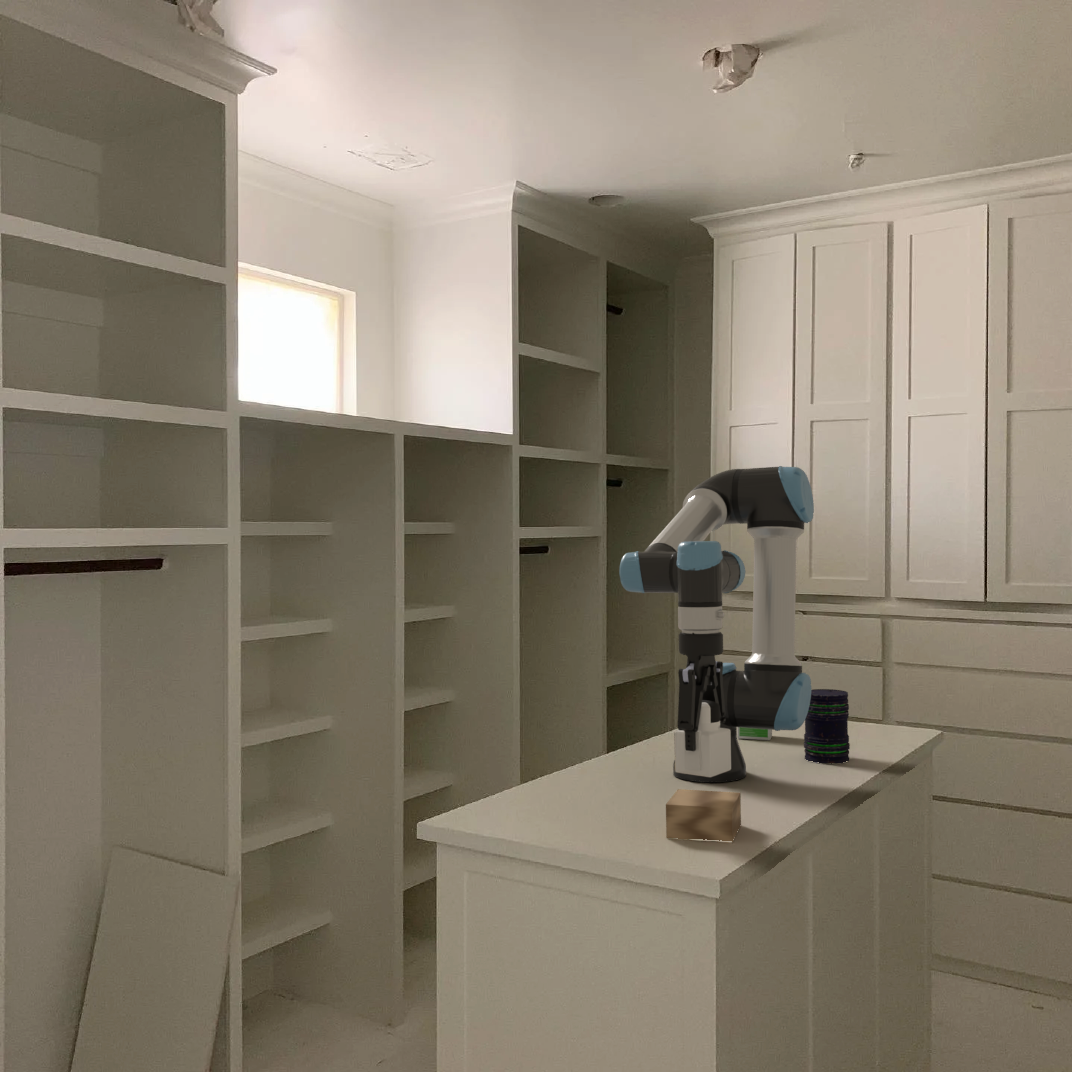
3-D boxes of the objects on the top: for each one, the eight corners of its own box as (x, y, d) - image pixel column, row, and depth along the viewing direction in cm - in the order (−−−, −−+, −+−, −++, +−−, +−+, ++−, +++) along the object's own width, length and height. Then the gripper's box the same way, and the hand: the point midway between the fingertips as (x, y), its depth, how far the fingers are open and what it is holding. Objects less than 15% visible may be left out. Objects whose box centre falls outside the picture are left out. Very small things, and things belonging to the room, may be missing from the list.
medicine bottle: (695, 765, 188) (694, 696, 188) (731, 770, 184) (730, 700, 184) (674, 772, 183) (672, 702, 183) (710, 778, 178) (709, 705, 178)
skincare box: (736, 739, 263) (735, 675, 263) (739, 734, 270) (738, 672, 270) (771, 740, 261) (770, 676, 261) (773, 735, 267) (772, 673, 267)
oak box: (666, 840, 180) (665, 804, 180) (678, 822, 190) (677, 789, 190) (732, 844, 176) (731, 808, 176) (741, 827, 187) (740, 792, 187)
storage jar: (841, 765, 232) (840, 696, 232) (797, 761, 237) (796, 693, 237) (855, 757, 240) (854, 690, 240) (813, 753, 246) (811, 687, 245)
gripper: (696, 637, 173) (699, 779, 173) (743, 627, 190) (745, 756, 190) (654, 635, 177) (657, 774, 177) (704, 625, 194) (706, 752, 194)
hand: (702, 764), depth 183 cm, fingers closed on medicine bottle, 7 cm apart
